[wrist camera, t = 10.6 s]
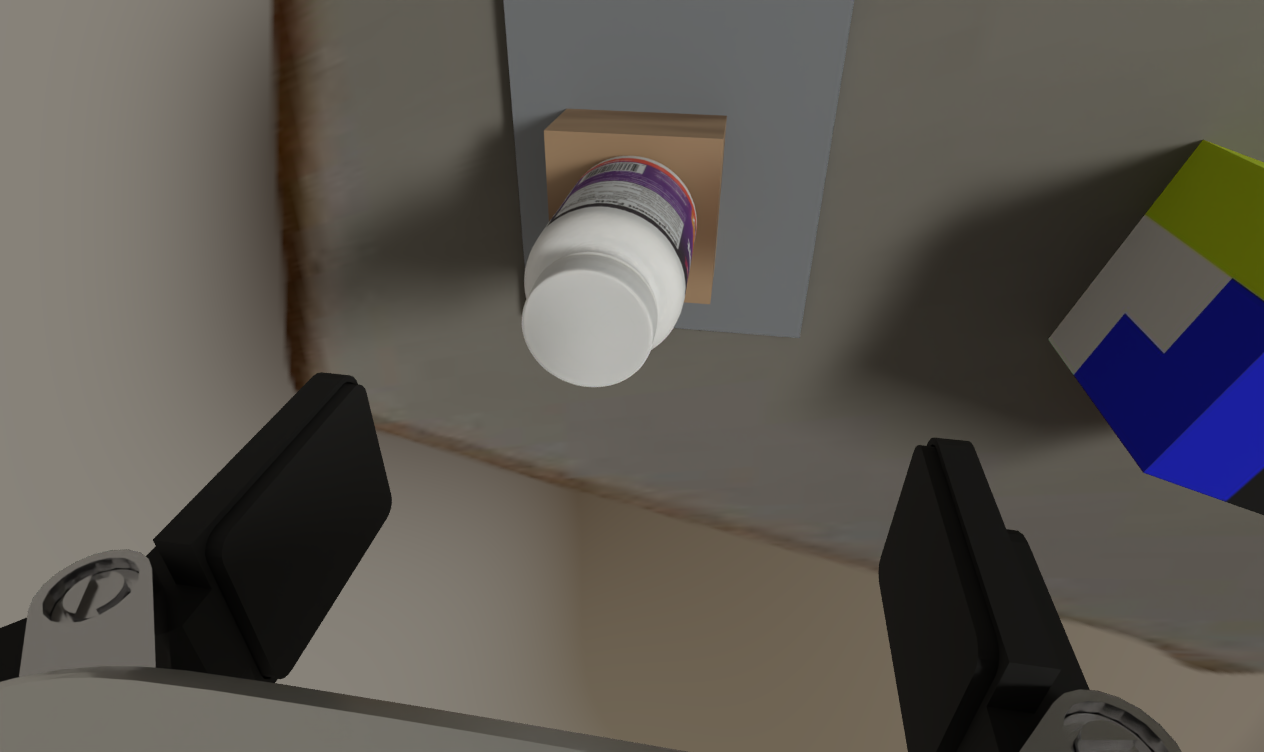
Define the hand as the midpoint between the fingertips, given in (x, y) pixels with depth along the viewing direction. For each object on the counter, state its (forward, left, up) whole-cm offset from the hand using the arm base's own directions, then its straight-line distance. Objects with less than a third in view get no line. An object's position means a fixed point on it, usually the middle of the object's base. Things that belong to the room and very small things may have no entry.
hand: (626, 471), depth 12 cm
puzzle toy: (+5, +23, -23) cm, 33 cm away
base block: (+2, -3, -22) cm, 23 cm away
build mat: (0, -2, -23) cm, 23 cm away
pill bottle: (+2, -3, -18) cm, 19 cm away
